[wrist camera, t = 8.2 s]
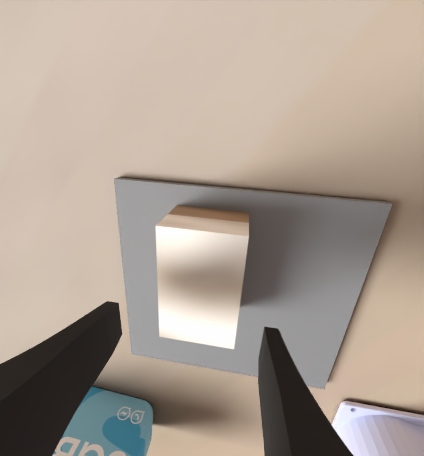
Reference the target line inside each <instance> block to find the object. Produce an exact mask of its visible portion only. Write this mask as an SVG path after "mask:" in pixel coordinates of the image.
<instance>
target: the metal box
mask: <svg viewBox="0 0 424 456" xmlns="http://www.w3.org/2000/svg"><path fill="white" fill-rule="evenodd" d="M248 240H249V213H248V212H238V211H228V210H219V209H209V208H199V207H190V206H180V205H177V206H175V207H174V208H173V209H172V210H171V211H170V212H169V213H168V214H167V215H166V216H165V217H164V218H163V219H162V220H161V221H160V222H159V223H158V224H157V225H156V254H157V282H158V311H159V337H165V338H170V339H176V340H182V341H188V342H194V343H200V344H206V345H211V346H217V347H223V348H229V349H234V345H235V338H236V330H237V323H238V315H239V308H240V300H241V293H242V285H243V278H244V270H245V263H246V255H247V247H248Z"/></svg>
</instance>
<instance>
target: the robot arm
mask: <svg viewBox="0 0 424 456" xmlns="http://www.w3.org/2000/svg"><path fill="white" fill-rule="evenodd" d="M121 335H122V329H121V320H120V311H119V303H115V302H108V301H107V302H105V303H104V304H102V305H101V306H99V307H97V308H96V309H94V310H93V311H91V312H90V313H88V314H87V315H85V316H84V317H82V318H81V319H79V320H77V321H76V322H74V323H73V324H71V325H70V326H68V327H67V328H65V329H63V330H62V331H60V332H58V333H57V334H55V335H53V336H52V337H50V338H48V339H47V340H45V341H43V342H42V343H40V344H38V345H36V346H35V347H33V348H31V349H29V350H27V351H25V352H23V353H22V354H20V355H18V356H16V357H14V358H12V359H10V360H8V361H6V362H4V363H2V364H0V456H52V455H53V453H54V451H55V449H56V448H57V446H58V444H59V442H60V440H61V438H62V436H63V434H64V432H65V430H66V429H67V427H68V425H69V423H70V421H71V419H72V417H73V416H74V414H75V412H76V410H77V409H78V407H79V405H80V404H81V402H82V401H83V399H84V397H85V396H86V394H87V393H88V391H89V390H90V388H91V387H92V385H93V384H94V382H95V381H96V379H97V377H98V376H99V374H100V373H101V371H102V370H103V368H104V367H105V365H106V363H107V362H108V360H109V359H110V357H111V355H112V354H113V352H114V350H115V348H116V346H117V344H118V342H119V340H120V337H121ZM258 384H259V395H260V406H261V417H262V427H263V438H264V452H265V456H424V415H420V414H415V413H409V412H404V411H398V410H393V409H388V408H382V407H377V406H371V405H366V404H361V403H355V402H350V401H343V402H342V403H341V404H340V406H339V409H338V411H337V414H336V416H335V418H334V421H333V423H332V425H331V423H330V422H329V421H328V419H327V418H326V416H325V415H324V413H323V411H322V410H321V408H320V407H319V405H318V404H317V402H316V400H315V399H314V397H313V395H312V394H311V392H310V390H309V389H308V387H307V385H306V383H305V382H304V380H303V378H302V376H301V374H300V373H299V371H298V369H297V367H296V365H295V363H294V361H293V359H292V357H291V355H290V353H289V351H288V349H287V347H286V345H285V342H284V340H283V338H282V335H281V333H280V331H279V329H277V328H271V327H265V326H264V331H263V336H262V342H261V347H260V352H259V358H258Z"/></svg>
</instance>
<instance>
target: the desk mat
mask: <svg viewBox="0 0 424 456" xmlns="http://www.w3.org/2000/svg"><path fill="white" fill-rule="evenodd" d="M114 184H115V194H116V204H117V214H118V223H119V233H120V243H121V253H122V263H123V273H124V283H125V293H126V303H127V313H128V323H129V333H130V342H131V352H132V354H133V355H139V356H144V357H150V358H155V359H161V360H167V361H172V362H178V363H183V364H189V365H194V366H200V367H205V368H211V369H216V370H222V371H227V372H233V373H238V374H244V375H249V376H255V377H258V358H259V352H260V347H261V342H262V336H263V331H264V326H265V327H271V328H277V329H279V331H280V333H281V335H282V338H283V340H284V342H285V345H286V347H287V349H288V351H289V353H290V355H291V357H292V359H293V361H294V363H295V365H296V367H297V369H298V371H299V373H300V374H301V376H302V378H303V380H304V382H305V383H306V385H307V386H310V387H315V388H321V389H325V386H326V384H327V381H328V378H329V375H330V373H331V370H332V367H333V365H334V362H335V359H336V356H337V354H338V351H339V348H340V346H341V343H342V340H343V337H344V335H345V332H346V329H347V327H348V324H349V321H350V318H351V316H352V313H353V310H354V308H355V305H356V302H357V299H358V297H359V294H360V291H361V289H362V286H363V283H364V280H365V278H366V275H367V272H368V270H369V267H370V264H371V261H372V259H373V256H374V253H375V250H376V248H377V245H378V242H379V240H380V237H381V234H382V231H383V229H384V226H385V223H386V221H387V218H388V215H389V212H390V210H391V207H392V204H391V203H389V202H385V201H374V200H363V199H352V198H341V197H330V196H318V195H307V194H296V193H285V192H274V191H263V190H252V189H241V188H230V187H219V186H208V185H197V184H185V183H174V182H163V181H152V180H141V179H130V178H119V177H118V178H115V179H114ZM177 205H180V206H190V207H199V208H209V209H219V210H228V211H238V212H248V213H249V240H248V247H247V255H246V263H245V270H244V278H243V285H242V293H241V300H240V308H239V315H238V323H237V330H236V338H235V345H234V349H229V348H223V347H217V346H211V345H206V344H200V343H194V342H188V341H182V340H176V339H170V338H165V337H159V311H158V282H157V254H156V225H157V224H158V223H159V222H160V221H161V220H162V219H163V218H164V217H165V216H166V215H167V214H168V213H169V212H170V211H171V210H172V209H173V208H174V207H175V206H177Z"/></svg>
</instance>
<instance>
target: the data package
mask: <svg viewBox="0 0 424 456" xmlns="http://www.w3.org/2000/svg"><path fill="white" fill-rule="evenodd" d="M152 423H153V409H152V407H151V405H150V404H149V403H148V402H147V401H145V400H142V399H139V398H135V397H131V396H127V395H123V394H120V393H116V392H112V391H108V390H104V389H101V388H97V387H93V386H92V387H91V388H90V390H89V391H88V393H87V394H86V396H85V397H84V399H83V401H82V402H81V404H80V405H79V407H78V409H77V410H76V412H75V414H74V416H73V417H72V419H71V421H70V423H69V425H68V427H67V429H66V430H65V432H64V434H63V436H62V438H61V440H60V442H59V444H58V446H57V448H56V449H55V451H54V453H53V455H52V456H146V454H147V451H148V448H149V445H150V441H151V436H152Z"/></svg>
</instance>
